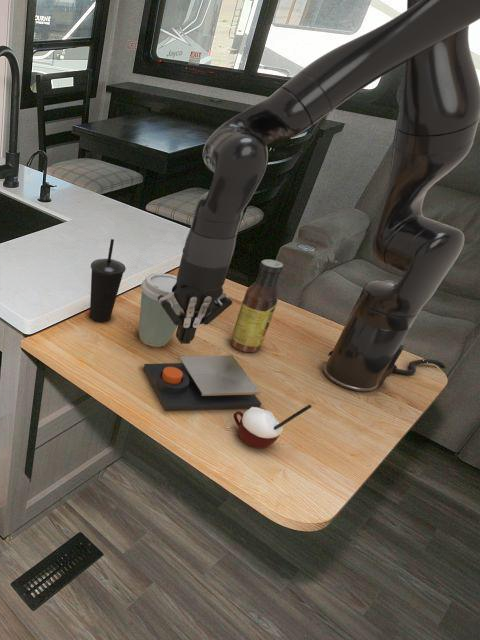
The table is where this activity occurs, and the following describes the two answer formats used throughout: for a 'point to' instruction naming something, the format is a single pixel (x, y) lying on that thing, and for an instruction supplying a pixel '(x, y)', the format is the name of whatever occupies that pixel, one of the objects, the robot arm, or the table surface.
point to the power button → (172, 375)
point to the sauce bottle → (257, 308)
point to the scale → (191, 393)
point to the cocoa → (261, 426)
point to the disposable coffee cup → (156, 310)
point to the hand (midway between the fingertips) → (183, 341)
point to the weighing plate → (218, 375)
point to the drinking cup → (105, 286)
